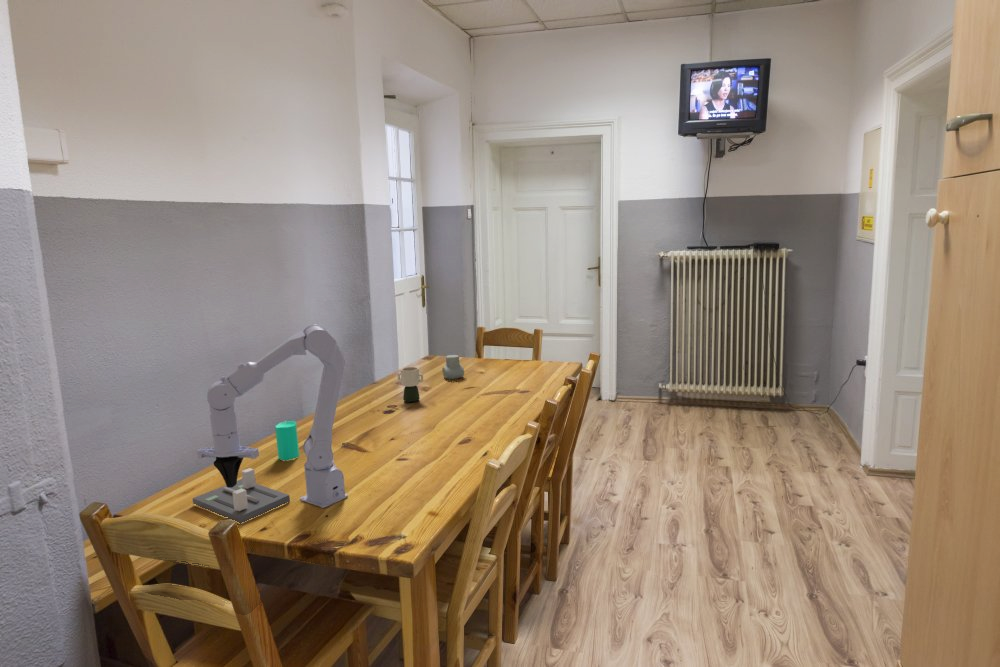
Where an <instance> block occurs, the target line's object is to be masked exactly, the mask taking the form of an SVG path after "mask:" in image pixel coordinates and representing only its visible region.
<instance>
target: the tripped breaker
mask: <svg viewBox="0 0 1000 667" xmlns="http://www.w3.org/2000/svg"><path fill="white" fill-rule="evenodd" d="M232 494H233V503H234V509H235V510H237V511H241V510H243V509H246V508H248V501H247V492H246V490H244V489H242V488H241V489H239V490H236V491H234V492H232Z"/></svg>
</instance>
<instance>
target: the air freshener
mask: <svg viewBox="0 0 1000 667" xmlns="http://www.w3.org/2000/svg"><path fill="white" fill-rule="evenodd" d="M445 364H446V365H444V366H443V367H442V369H441V371H442V376H443V378H444V379H447V380H458V379H457V378H459V379H460V378H463V377H464V375H465V369H464V366H463V365H461V364H460V355H459V354H458V355H457V354H448V355H446V356H445Z"/></svg>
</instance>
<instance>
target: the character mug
mask: <svg viewBox="0 0 1000 667" xmlns="http://www.w3.org/2000/svg"><path fill="white" fill-rule="evenodd" d="M397 381H398V382H401V386H403V387H404V389H403V401H404V402H406V403H411V402H412V403H413V402H417V401H419V400H420V392H419V387H418V386H419V385H420V383H423V382H424V374H423V373H420V368H419V367H417V366H406V367H402V368H401V369H400V372H398V373H397Z"/></svg>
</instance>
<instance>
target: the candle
mask: <svg viewBox="0 0 1000 667" xmlns="http://www.w3.org/2000/svg"><path fill="white" fill-rule="evenodd" d="M274 428H275V437H276V440H275V441H276V447H277V459H278V458H279V459H282V460H289V459H293V458H296V457H298V456H299V457H300V449H299V439H298V438H299V437H298V429H297V428H298V427H297V422H296V421H294V420H291V421H290V420H289V421H287V420H286V419H284V421H282V422H279V423H278V424H276V425H274ZM299 457H298V458H299ZM279 459H278V460H279Z"/></svg>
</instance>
